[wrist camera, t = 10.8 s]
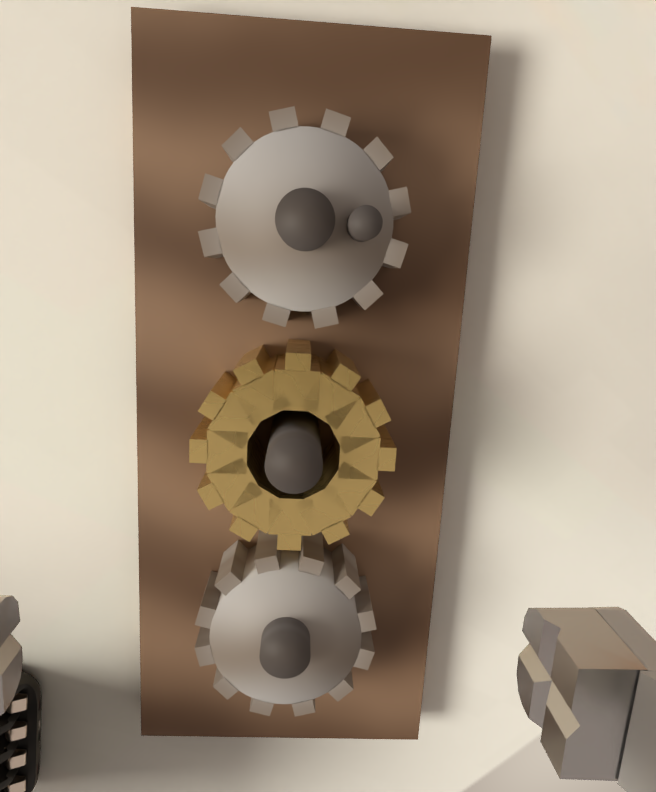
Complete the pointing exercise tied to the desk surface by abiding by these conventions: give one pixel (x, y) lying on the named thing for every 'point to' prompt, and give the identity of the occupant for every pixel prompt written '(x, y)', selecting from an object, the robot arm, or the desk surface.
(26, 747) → the battery charger
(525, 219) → the desk surface
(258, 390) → the brass gear
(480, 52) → the gear board
